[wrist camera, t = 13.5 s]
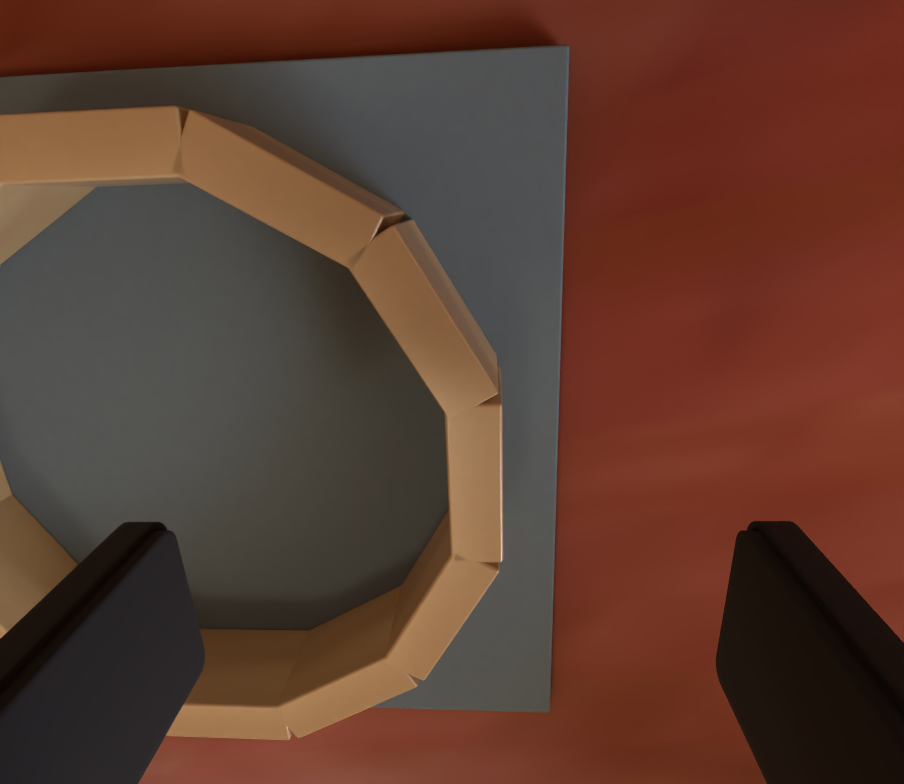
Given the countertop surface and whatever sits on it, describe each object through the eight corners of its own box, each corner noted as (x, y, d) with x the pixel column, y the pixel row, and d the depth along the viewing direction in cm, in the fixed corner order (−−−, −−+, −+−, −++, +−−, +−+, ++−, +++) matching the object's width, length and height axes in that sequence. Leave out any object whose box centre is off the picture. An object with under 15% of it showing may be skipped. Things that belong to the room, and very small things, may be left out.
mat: (-210, 93, 15) (-238, 89, 14) (566, 50, 13) (570, 43, 13) (16, 683, 21) (2, 697, 21) (548, 698, 20) (550, 713, 19)
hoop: (-153, 142, 14) (-311, 129, 11) (498, 110, 13) (500, 88, 10) (32, 653, 20) (-44, 730, 17) (502, 664, 19) (504, 748, 16)
